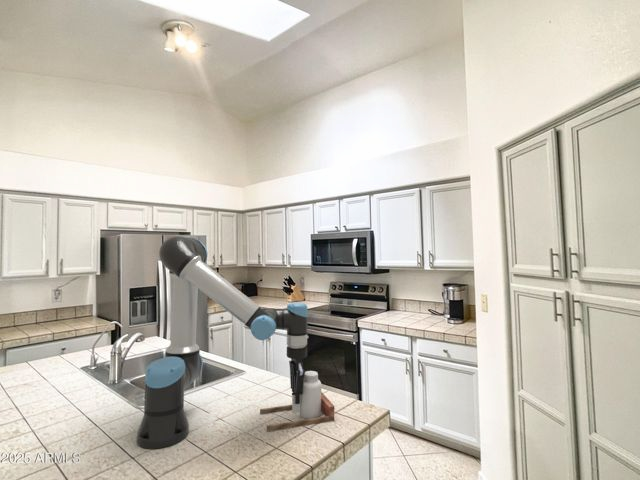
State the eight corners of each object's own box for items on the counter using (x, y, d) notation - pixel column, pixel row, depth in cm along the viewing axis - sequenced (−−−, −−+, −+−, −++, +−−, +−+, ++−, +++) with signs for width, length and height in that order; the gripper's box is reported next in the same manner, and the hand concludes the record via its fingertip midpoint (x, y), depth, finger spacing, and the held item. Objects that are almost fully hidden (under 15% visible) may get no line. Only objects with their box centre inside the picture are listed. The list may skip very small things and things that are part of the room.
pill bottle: (312, 421, 119) (312, 378, 120) (295, 415, 124) (295, 373, 124) (325, 413, 125) (325, 372, 126) (308, 407, 130) (308, 368, 131)
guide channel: (267, 431, 112) (267, 416, 112) (260, 413, 125) (260, 399, 125) (334, 420, 120) (334, 406, 120) (321, 404, 133) (321, 391, 133)
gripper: (312, 349, 119) (311, 418, 118) (301, 340, 131) (301, 402, 130) (291, 351, 116) (290, 421, 115) (282, 342, 129) (281, 405, 127)
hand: (296, 411), depth 123 cm, fingers closed
